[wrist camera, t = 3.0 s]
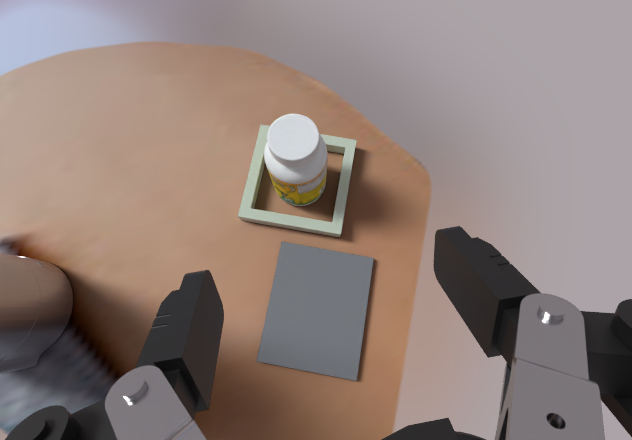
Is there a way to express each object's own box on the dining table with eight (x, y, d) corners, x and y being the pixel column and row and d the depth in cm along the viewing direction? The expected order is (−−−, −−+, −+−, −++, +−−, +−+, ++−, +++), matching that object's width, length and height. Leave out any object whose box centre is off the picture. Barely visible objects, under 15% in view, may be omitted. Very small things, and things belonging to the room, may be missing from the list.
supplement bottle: (334, 193, 34) (341, 150, 25) (288, 216, 34) (277, 181, 24) (310, 150, 36) (308, 94, 26) (265, 172, 35) (246, 123, 26)
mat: (356, 379, 30) (356, 380, 29) (257, 360, 30) (256, 361, 30) (372, 258, 33) (373, 257, 32) (282, 242, 33) (281, 241, 33)
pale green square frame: (339, 237, 33) (340, 234, 32) (241, 220, 34) (238, 216, 32) (354, 146, 36) (356, 140, 34) (263, 131, 36) (260, 124, 35)
